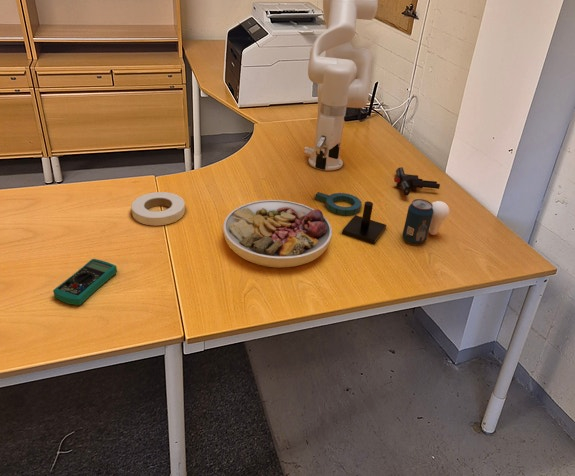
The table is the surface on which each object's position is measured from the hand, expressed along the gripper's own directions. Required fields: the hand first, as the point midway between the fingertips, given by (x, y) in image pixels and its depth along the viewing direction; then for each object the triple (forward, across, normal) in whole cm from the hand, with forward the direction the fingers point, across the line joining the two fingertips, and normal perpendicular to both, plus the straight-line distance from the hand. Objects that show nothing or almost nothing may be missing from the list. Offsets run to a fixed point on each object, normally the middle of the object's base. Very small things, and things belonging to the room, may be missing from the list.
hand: (326, 163), depth 160 cm
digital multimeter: (+14, +71, -30) cm, 78 cm away
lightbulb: (+14, 0, +36) cm, 39 cm away
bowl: (+14, +29, -1) cm, 32 cm away
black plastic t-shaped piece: (+13, -26, +23) cm, 37 cm away
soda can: (+14, +6, +32) cm, 35 cm away
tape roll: (+14, +34, -38) cm, 53 cm away
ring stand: (+14, +10, +18) cm, 25 cm away
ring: (+13, 0, +5) cm, 14 cm away
